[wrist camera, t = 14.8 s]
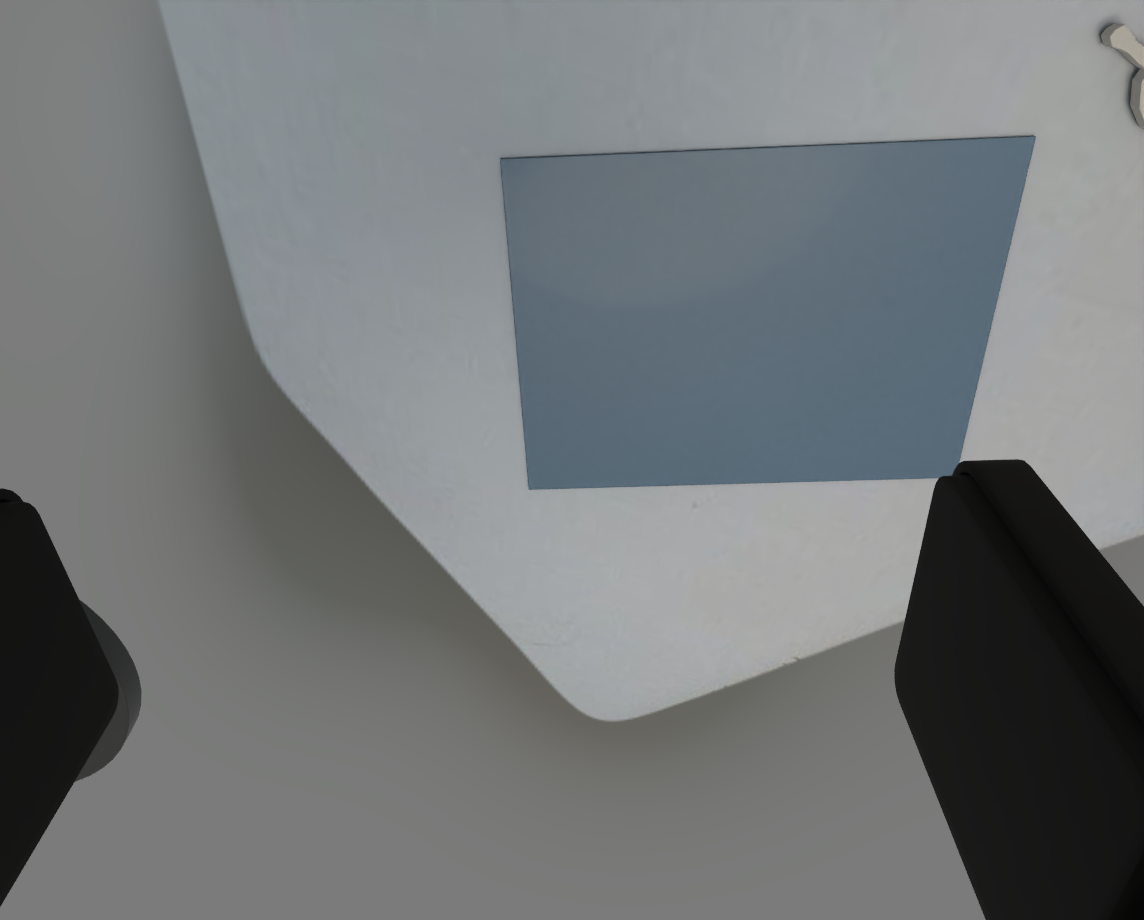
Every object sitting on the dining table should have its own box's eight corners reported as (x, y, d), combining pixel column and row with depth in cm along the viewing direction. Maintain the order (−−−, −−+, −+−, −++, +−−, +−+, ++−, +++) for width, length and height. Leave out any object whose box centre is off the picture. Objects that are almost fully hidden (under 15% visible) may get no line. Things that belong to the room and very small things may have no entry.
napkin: (529, 488, 43) (528, 489, 43) (500, 158, 34) (500, 159, 34) (954, 476, 42) (955, 477, 42) (1034, 135, 33) (1035, 136, 33)
